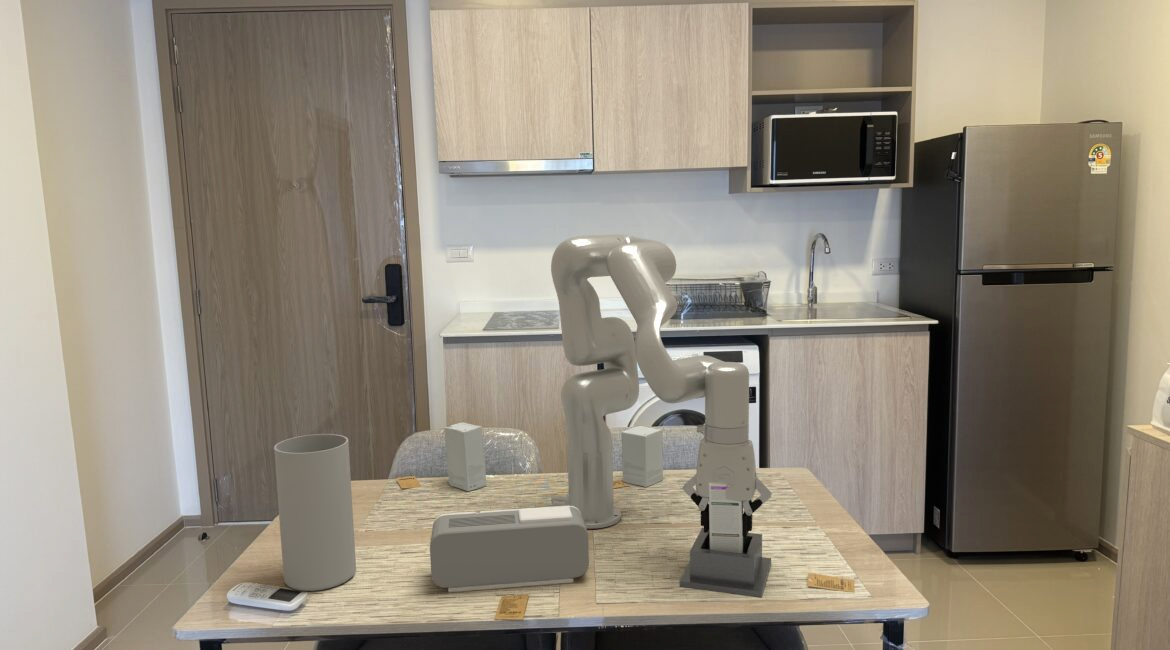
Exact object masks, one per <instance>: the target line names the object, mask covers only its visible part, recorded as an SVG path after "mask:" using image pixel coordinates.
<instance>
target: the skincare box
mask: <svg viewBox="0 0 1170 650" xmlns="http://www.w3.org/2000/svg"><path fill="white" fill-rule="evenodd" d="M444 438H445V439H444V440H445V441H444V442H445V453H446V463H447V464H446V465H447V466H446V467H447V474H448V475H447V476H448V485H449V486H451V487H454V488H457V489H460V490H462V491H463V490H464V491H467V492H471V491H473V490H474V491H475V490H477V489H481V488H484V487H487V473H486V460H485V451H484V439H483V426H482V425H476V424H471V423H467V422H464V421H463V422H459V423H455V424H452V425H447V426H445V427H444Z"/></svg>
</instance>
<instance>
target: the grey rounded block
mask: <svg viewBox="0 0 1170 650" xmlns="http://www.w3.org/2000/svg"><path fill="white" fill-rule="evenodd" d="M431 529H432V530H431V536H430V543H429V555H430V556H429V557H430V559H429V560H430V575H431V579H432V582H433V583H434V584H435V586H438V587H440V588H444V589H445V588H446V589H448V593H452V592H453V593H454V592H467V591H480V590H482V591H483V590H492V589H495V590H496V589H505V588H518V587H519V588H520V587H531V586H543V585H545V586H546V585H554V584H555V585H556V584H567V583H568V584H569V583H570V584H571V583H574V579H576V578H578V577H579V578H580V577H582V576H583V575H585V574H586V573H587V571H588V570H589V565H590V554H589V552H590V550H589V533H588V529H586V526H585V523H584V520H583V517H582V515H581V512H580V511H579V509H578V508H576V507H574V506H554V507H553V506H543V507H542V506H541V507H527V508H515V509H514V508H512V509H511V508H510V509H499V510H498V509H497V510H481V511H479V513H477V512H476V511H470V512H469V511H468V512H453V513H451V512H450V513H443V514H440V515H438V516H437V517H436V518H435V519H434V521H433V524H432V528H431Z"/></svg>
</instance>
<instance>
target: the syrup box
mask: <svg viewBox="0 0 1170 650" xmlns="http://www.w3.org/2000/svg"><path fill="white" fill-rule="evenodd" d="M726 485H727V484H724V482H711V483H709V502H708V504H709V538H710V550H716V551H725V552H733V553H742V554H743V536H742V516H743V513H744V508H743V505H742V502H741V501H735V500H729V499H726V493H725V489H726V488H728V487H730V486H728V487H726V488H725V486H726Z"/></svg>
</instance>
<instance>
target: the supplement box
mask: <svg viewBox="0 0 1170 650" xmlns="http://www.w3.org/2000/svg"><path fill="white" fill-rule="evenodd" d="M620 433H621V459H622V461H621V465H622V469H621V470H622V482H623V483H627V484H630V485H636V486H639V487H643V488H644V487H645V488H648V487H650V486H652V485H655V484H657V483H660V482H661V481H663V480H664V464H663V463H664V462H663V461H664V458H663V457H664V456H663V455H664V454H663V453H664V452H663V451H664V450H663V448H664V447H663V429H658V428H653V427H647V426H641V425H638V426H634V427H632V428H628V429H626V430H623V431H621V432H620Z"/></svg>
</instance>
